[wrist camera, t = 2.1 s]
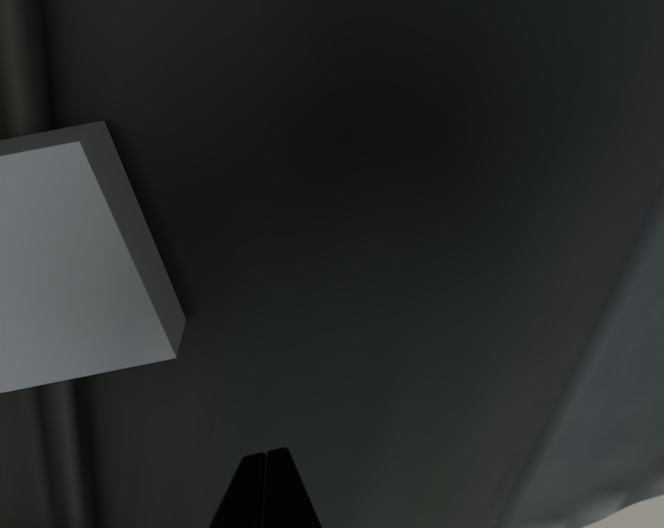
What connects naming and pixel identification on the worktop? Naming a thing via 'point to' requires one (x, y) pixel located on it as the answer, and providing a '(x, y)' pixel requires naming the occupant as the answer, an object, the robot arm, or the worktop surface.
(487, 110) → the worktop surface
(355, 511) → the worktop surface
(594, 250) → the worktop surface
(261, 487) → the robot arm
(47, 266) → the slate board
